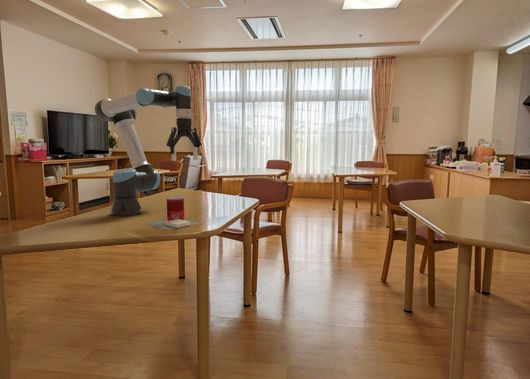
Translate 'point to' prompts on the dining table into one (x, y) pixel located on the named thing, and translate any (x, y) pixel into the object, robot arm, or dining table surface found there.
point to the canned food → (175, 208)
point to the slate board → (162, 225)
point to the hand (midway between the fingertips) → (185, 160)
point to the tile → (177, 223)
